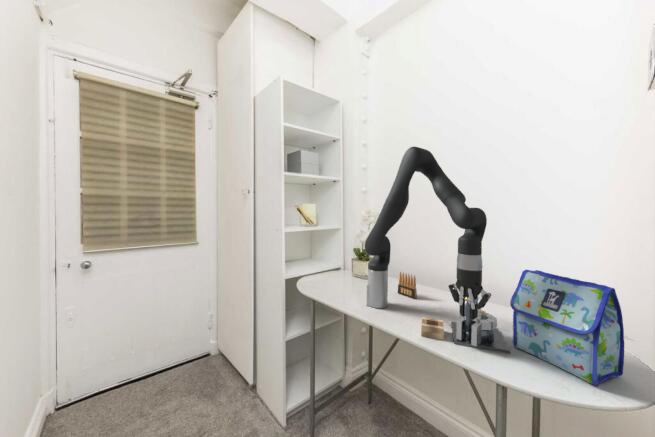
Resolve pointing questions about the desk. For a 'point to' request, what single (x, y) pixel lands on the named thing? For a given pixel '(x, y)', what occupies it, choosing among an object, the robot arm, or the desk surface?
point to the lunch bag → (569, 324)
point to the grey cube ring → (476, 327)
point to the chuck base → (483, 338)
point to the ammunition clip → (407, 286)
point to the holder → (432, 328)
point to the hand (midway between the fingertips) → (468, 317)
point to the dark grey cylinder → (467, 315)
